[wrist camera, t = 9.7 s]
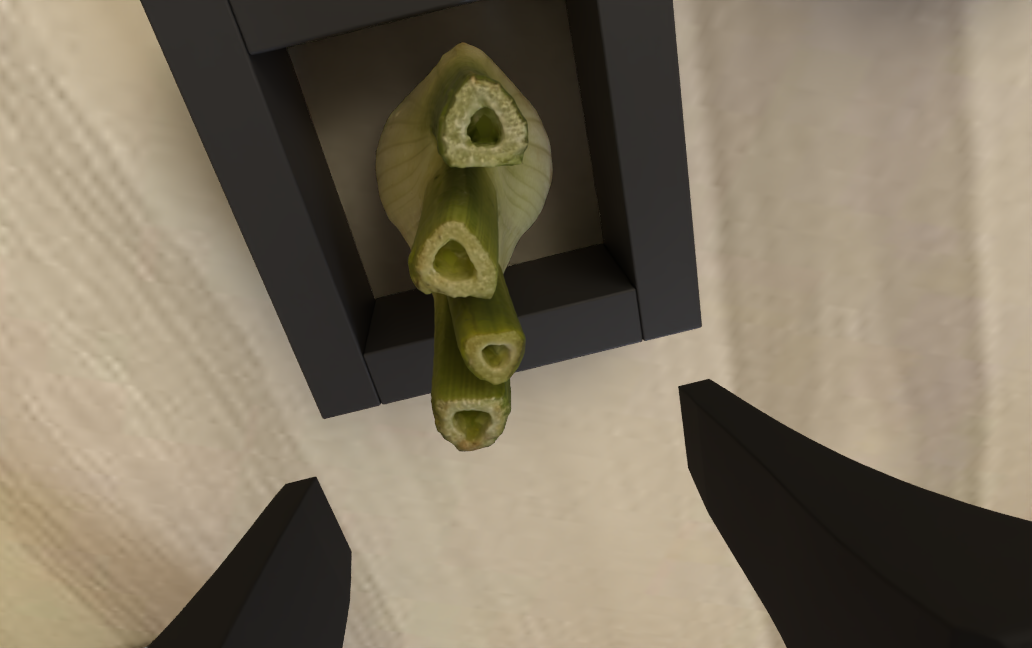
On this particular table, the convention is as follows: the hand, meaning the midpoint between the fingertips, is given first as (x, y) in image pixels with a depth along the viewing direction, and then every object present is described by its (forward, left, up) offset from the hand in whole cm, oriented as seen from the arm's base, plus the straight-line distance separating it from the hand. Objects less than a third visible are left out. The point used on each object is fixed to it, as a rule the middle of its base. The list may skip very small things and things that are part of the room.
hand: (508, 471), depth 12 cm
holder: (0, +4, -10) cm, 11 cm away
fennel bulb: (+1, +4, -11) cm, 11 cm away
